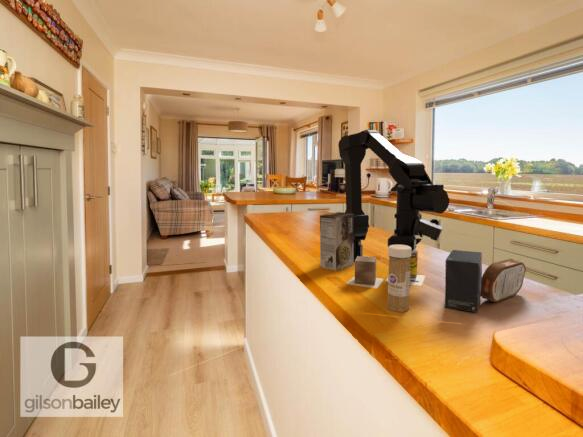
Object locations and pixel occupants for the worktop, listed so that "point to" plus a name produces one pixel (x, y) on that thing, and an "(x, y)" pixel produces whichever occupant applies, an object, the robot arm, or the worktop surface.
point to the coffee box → (336, 240)
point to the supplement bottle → (413, 264)
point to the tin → (502, 280)
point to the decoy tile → (377, 283)
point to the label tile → (416, 280)
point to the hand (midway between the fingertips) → (406, 267)
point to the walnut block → (365, 270)
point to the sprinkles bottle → (399, 277)
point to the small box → (463, 280)
